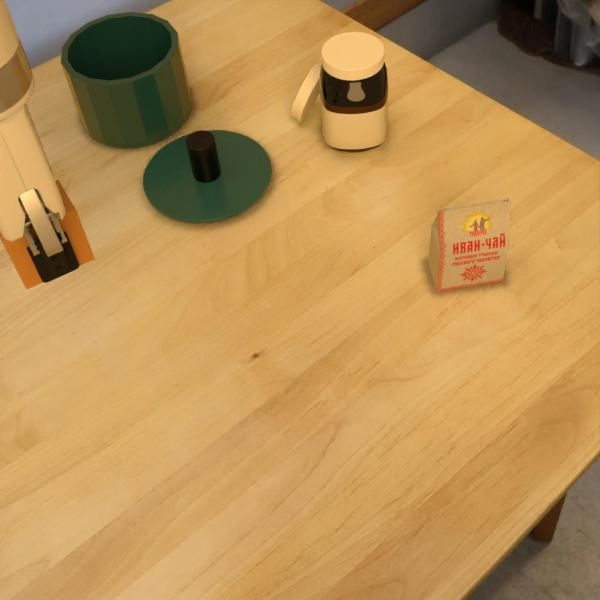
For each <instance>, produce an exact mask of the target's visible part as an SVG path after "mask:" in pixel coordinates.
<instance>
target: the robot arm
mask: <svg viewBox="0 0 600 600" xmlns="http://www.w3.org/2000/svg"><path fill="white" fill-rule="evenodd" d="M27 57H28V56H27V55H26V52H25V49H24V46H23V43H22V42H21V39H20V35H19V34H18V31H17V29H16V26H15V23H14V20H13V17H12V15H11V12H10V9H9V7H8V5H7V2H6V0H0V232H1V234H2V236H3V237H4V238H5V239H6V240H8V241H12V242H13V241H15V240H17V239H19V238H22V237H23V234H24V236H25V238H26V240H27V243H28V245H29V247H27V251H28V253H29V255H30V257H31V259H32V261H33V263H34V265H35V267H36V269H37V272H38V274H39V276H40V278H41V280H42V282H43V283H45V284H47V283H49V282H53V281H54V280H56V279H58V278H61V277H64V276H66V275H68V274H70V273H72V272H74V271H76V270H78V269H79V268H80V267H81V266H80V265H79V262H78V260H77V258H76V255H75V253H74V250H73V248H72V245H71V243H70V240H69V238H68V236H67V234H66V232H65V231H64V232H63V230H62V227H61V225H60V223H59V221H58V219H59V218H60V219H61V220H63V218H64V216H65V213H66V210H65V207H64V204H63V201H62V198H61V195H60V192H59V189H58V186H57V183H56V180H57V179H56V178H55V175H54V172H53V169H52V167H51V164H50V161H49V159H48V156H47V153H46V151H45V148H44V146H43V144H42V143H43V142H42V140H41V138H40V134H39V133H38V130H37V128H36V125H35V123H34V120H33V118H32V115H31V113H30V110H29V107H28V105H27V103H28V101H29V100H30V98H31V97H32V95H33V92H34V90H35V83H36V80H35V76H34V74H33V71H32V68H31V65H30V62H29V59H28V58H27ZM44 206H45V207H44ZM25 214H26V215H25ZM33 227H34V230H35V232H36V234H37V236H38V237H36V238H33V236H32V234H31V232H30V230H29V229H31V228H33Z"/></svg>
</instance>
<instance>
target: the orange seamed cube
mask: <svg viewBox="0 0 600 600" xmlns="http://www.w3.org/2000/svg"><path fill="white" fill-rule="evenodd" d="M55 180H56V183H57V186H58V189H59V192H60V195H61V198H62V201H63V204H64V207H65V210H66V213H65V216H64V218H63V220H61V219H60V218H59V219H58V221H59V223H60V225H61V227H62V230H63V232H64V231H65V232H66V234H67V236H68V238H69V240H70V243H71V245H72V248H73V250H74V253H75V255H76V258H77V260H78V262H79V265H80V266H79V267H81V266H84V265H85V264H87V263H91V262H92V261H94V260H96V259H95V258H96V257H95V255H94V253H93V251H92V247H91V245H90V242H89V240H88V238H87V235H86V232H85V229H84V226H83V224H82V222H81V219H80V216H79V213H78V211H77V209H76V206H75V205H74V204H73V202H72V200H71V199H70V197H69V195H68V193H67V192H66V190H65V189H64V186H63V184H62V183H61V182H60V180H59V179H55ZM44 207H45V206H44ZM25 215H26V214H25ZM29 230H30V232H31V234H32V236H33V238H36V237H38V236H37V234H36V232H35V230H34V227H33V228H31V229H29ZM0 241H1V243H2V244H3V246H4V248H5V250H6V252H7V255H8V256H9V258H10V260H11V262H12V264H13V266H14V268H15V270H16V271H17V272H16V273H17V274H18V276H19V278H20V280H21V282H22V284H23V286H24V288H25V289H26V290H29V289H31V288H35V287H36V286H38V285H41V284H43V283H44V282H42V280H41V278H40V276H39V274H38V272H37V269H36V267H35V265H34V263H33V261H32V259H31V257H30V255H29V253H28V251H27V247H29V245H28V243H27V240H26V238H25V236H24V234H23V237H22V238H19V239H17V240H15V241H13V242H12V241H8V240H6V239H5V238H4V237H3V236H2V234H1V232H0Z"/></svg>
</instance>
